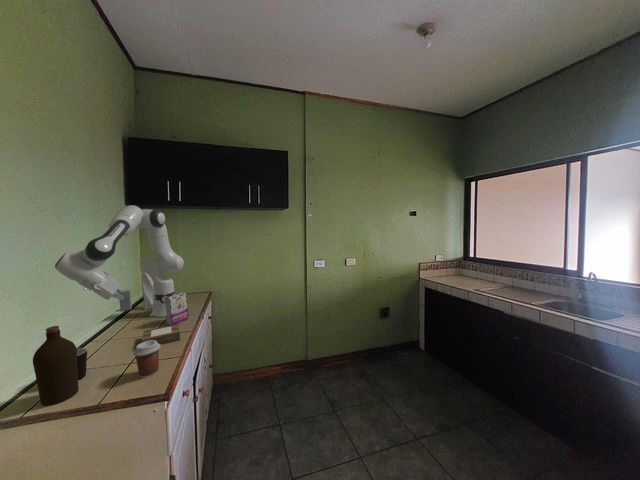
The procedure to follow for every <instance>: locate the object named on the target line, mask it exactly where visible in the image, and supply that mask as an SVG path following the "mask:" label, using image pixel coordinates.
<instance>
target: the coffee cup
mask: <svg viewBox="0 0 640 480" xmlns="http://www.w3.org/2000/svg"><path fill="white" fill-rule="evenodd" d="M160 349H161V345H160V344H159V343H157V341H155V340H150V341H145V342H142V341H141V343H138V344H137V345H136V346H135V349H134V350H133V351H132V354H133V356H135V361H136V364H137V365H136V366H137V370H138V376H139V378H141V379H146V378H151V377H153V376H155V375H156V374H158V373H159V370H160V369H159V360H160V359H159V356H160V354H159V353H160V352H159V351H160Z"/></svg>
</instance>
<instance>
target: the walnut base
mask: <svg viewBox="0 0 640 480" xmlns="http://www.w3.org/2000/svg"><path fill="white" fill-rule="evenodd" d="M150 340H155V341H157V343H159V344H160V346H161V344H162V345H166V344H171V343H174V342H178V341H181V333H180V325H179V323H177V324H174V325H166V326H162V327H157V328H152V329H147V330H143V333H142V338H141V343H142V342H145V341H150ZM170 342H171V343H170ZM165 343H166V344H165Z"/></svg>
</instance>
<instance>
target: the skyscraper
mask: <svg viewBox="0 0 640 480" xmlns="http://www.w3.org/2000/svg"><path fill="white" fill-rule="evenodd" d="M142 272H143V271H142V269H141V270H140V277H141V284H142V288H143V305H144V311H151V310H152V311H153V306H152V303H153V302H154V301H155V298H154V294H155V288H154V283H153V280H152V279H151V277H150V276H149V275H148V274H147V273H145V272H143V273H142Z"/></svg>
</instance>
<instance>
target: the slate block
mask: <svg viewBox="0 0 640 480" xmlns="http://www.w3.org/2000/svg"><path fill="white" fill-rule="evenodd" d="M119 294H120V295H123V296H124V297H125V298H124V299H123V300H119V299H118V300H119V310H120V312H124V311H125V312H126V311H130V310H132V308H133V304H132V295H131V289H124V290H122V291H120V292H119Z"/></svg>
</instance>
